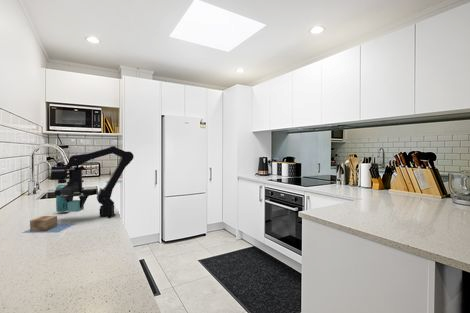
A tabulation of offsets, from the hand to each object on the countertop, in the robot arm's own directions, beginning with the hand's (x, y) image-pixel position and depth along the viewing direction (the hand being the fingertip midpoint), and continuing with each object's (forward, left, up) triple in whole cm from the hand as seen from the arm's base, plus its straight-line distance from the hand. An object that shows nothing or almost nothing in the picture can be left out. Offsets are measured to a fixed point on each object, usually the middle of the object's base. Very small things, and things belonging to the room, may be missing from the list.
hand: (76, 208), depth 123 cm
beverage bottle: (+18, -16, -7) cm, 25 cm away
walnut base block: (+6, +14, -6) cm, 16 cm away
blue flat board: (+4, +13, -7) cm, 15 cm away
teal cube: (0, 0, -1) cm, 1 cm away
